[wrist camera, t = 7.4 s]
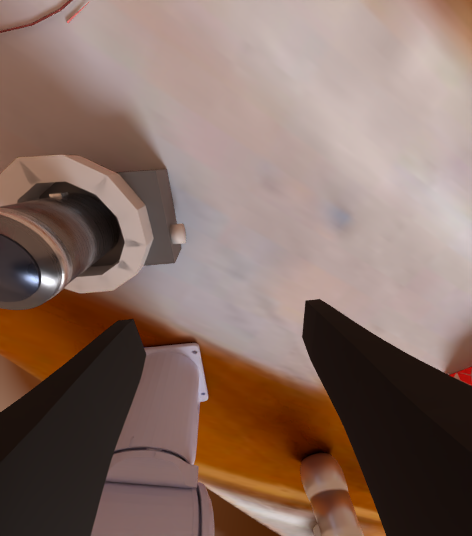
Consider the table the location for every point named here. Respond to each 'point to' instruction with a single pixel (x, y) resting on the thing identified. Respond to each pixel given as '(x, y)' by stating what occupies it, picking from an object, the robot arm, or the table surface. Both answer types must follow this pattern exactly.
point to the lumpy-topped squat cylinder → (316, 531)
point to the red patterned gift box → (464, 375)
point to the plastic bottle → (329, 496)
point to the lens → (50, 245)
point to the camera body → (117, 200)
